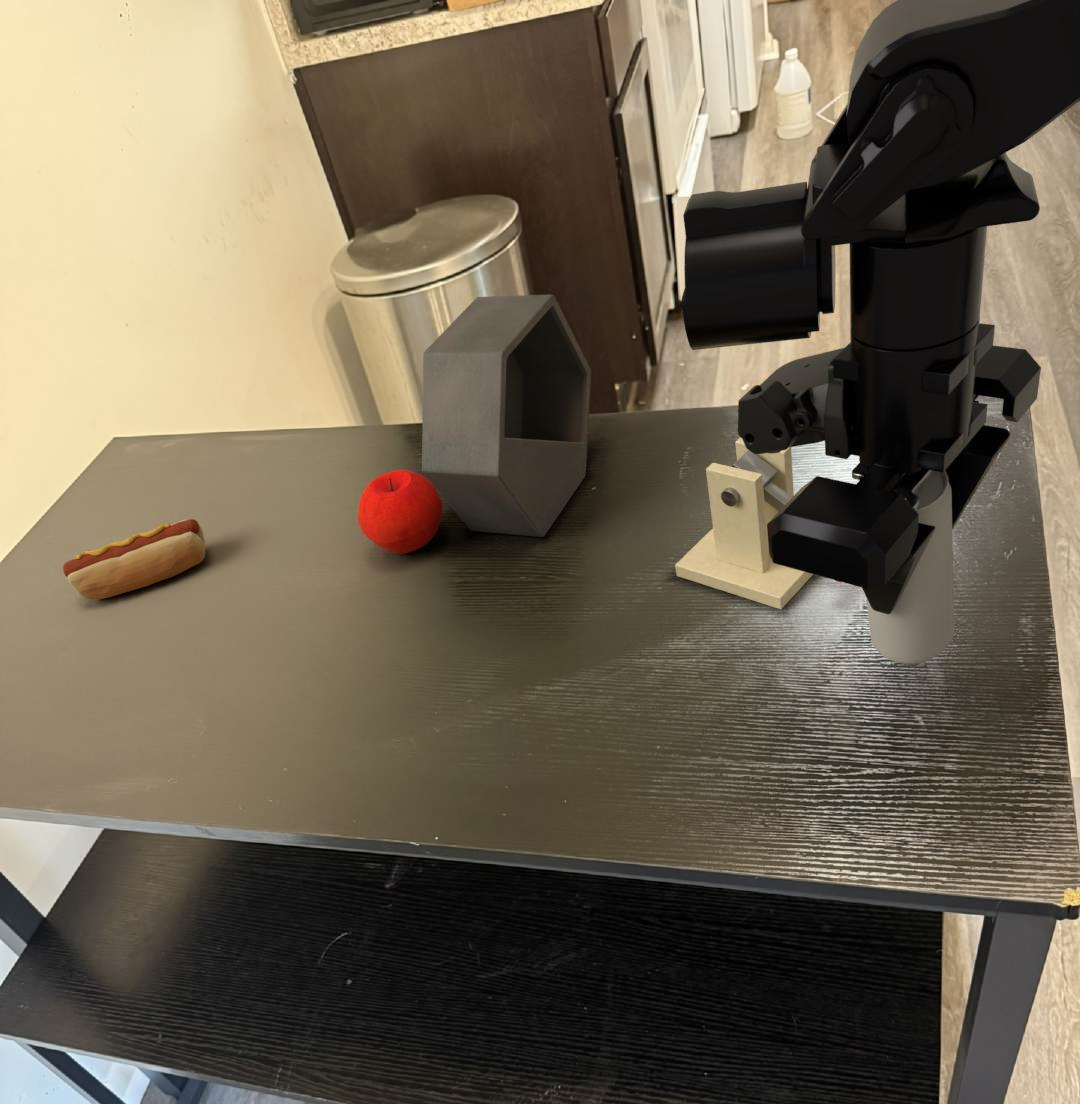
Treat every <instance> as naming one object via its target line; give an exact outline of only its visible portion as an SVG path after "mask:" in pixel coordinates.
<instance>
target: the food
mask: <svg viewBox="0 0 1080 1104" xmlns="http://www.w3.org/2000/svg"><path fill="white" fill-rule="evenodd" d="M206 550H207V549H206V540H205V536H204V531H203V529H202V526H201V525H200V523H198V520H196V519H195V518H185V519H181V520H179V521H177V522H174V523H172V524H170V523H168V522H167V523H162V524H160V525H159V526H157V527H156V528H154V529H151V530H149V531H143V532H139V533H136V534H133V535H130V536H129V537H128V538H125V539H123V540H119V541H112V542H110V543H108V544H106V545H104V546H102V547H100V548H97V549H93V550H85V551H83V552H80V553H78V554H76V556H75V557H73V558H72V559H70V560H68V561H66V562H65V563H63V566H62V572H63V574H64V576H65V577H66V578H67V581H68V583H69V584H70V585H71V586H72V587H73V589H74V591H76V593H77V594H78V595H80V596H82V597H83V598H84V599H89V600H97V601H99V600H103V599H107V598H111V597H115V596H118V595H121V594H125V593H129V592H131V591H135V590H138V589H142V588H146V587H149V586H151V585H153V584H156V583H159V582H160V581H164V580H167V579H170V578H173V577H175V576H178V575H181V574H182V573H183V572H185V571H187V570H189V569H191V568H193V567H194V566H197V565H199V564H200V563H202V562H203V561H204V559H205V557H206Z"/></svg>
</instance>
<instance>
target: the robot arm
mask: <svg viewBox="0 0 1080 1104" xmlns="http://www.w3.org/2000/svg"><path fill="white" fill-rule="evenodd" d="M1078 103H1080V0H896V1H894V2H892V3H891V4H889V5H887V6H886V7H884V9H883V10H882V11H880V12H879V14H878V15H877V16H876V17H875V18H874V19H873V20H872V22H871V23H870V25H869V27H868V28H867V29H866V31H865V33H864V35H863V37H862V40H861V41H860V42H859V45H858V47H857V49H856V51H855V53H854V57H853V62H852V66H851V70H850V75H849V83H848V96H847V103H846V105H845V107H844V108H843V110H842V112H841V113H840V114H839V116H838V118H837V119H836V121H835V123H834V124H833V126H832V128H831V129H830V131H829V133H828V134H827V136H826V137H825V139H824V140H823V142H822V144H821V145H820V146H819V145H818V147H817V149H816V153H815V155H814V156H813V158H812V160H811V163H810V168H809V169H810V170H809V175H808V181H802V182H795V183H789V184H782V185H775V186H769V187H764V188H763V187H762V188H755V189H750V190H743V191H734V192H733V191H732V192H731V191H723V190H712V191H706V192H700V193H699V192H698V193H694V194H691V195H690V197H689V198H688V201H687V203H686V206H685V209H684V212H683V215H682V217H683V224H684V225H683V226H684V233H685V242H684V265H683V267H684V270H683V271H684V288H683V292H682V296H681V309H682V318H683V324H684V330H685V334H686V338H687V342H688V345H689V347H690V349H691V350H692V351H699V350H707V349H716V348H717V349H718V348H726V347H727V348H728V347H736V346H737V347H738V346H746V345H755V344H764V343H765V344H767V343H774V342H784V341H793V340H794V341H795V340H803V339H810V338H811V336H812V333H814V332H820V329H821V328H820V326H821V325H820V324H821V323H820V321H821V314H822V315H828V314H829V315H830V314H834V313H835V310H836V309H835V308H836V246H841V245H849V248H848V249H849V318H850V319H849V332H850V333H849V335H850V339H849V340H850V342H849V343H848V344H847V345H846V346H845V347H841V348H837V349H833V350H829V351H825V352H820V353H817V354H816V353H815V354H813V355H808V356H805V357H801V358H797V359H794V360H792V361H789V362H786V363H784V364H783V365H781V366H780V367H778V368H777V369H775V370H774V371H773V372H772V373H771V374H770V375H769V376H768V377H767V378H766V379H765V380H763V382H761V383H760V384H756V385H754V386H753V387H751V388H750V389H749V390H748V391H747V392H746V393H745V394H744V395H743V396H742V397H741V398H740V399H738V405H737V434H738V436H739V438H740V437H741V438H742V439H743V442H744V444H745V446H746V448H747V449H748V450H749V451H751V452H752V453H754V454H764V453H770V454H772V453H779V452H780V451H782V450H786V449H788V448H789V447H791V448H793V447H801V446H806V445H812V444H818V443H822V442H824V455H825V456H827V457H832V458H837V459H842V460H848V459H849V458H850V456H856V457H858V458H859V459H858V461H859V463H857V464H856V466H854V468H853V469H852V470H851V478H852V479H854V480H858V482H857V483H852V482H847V481H842V480H837V479H833V478H830V477H829V478H828V477H824V476H820V475H816V476H815V477H814V478H812V479H811V480H810V481H808V482H807V483H806V484H804V485H802V487H801V488H799V490H798V491H797V492H796V493H794V496H793V497H792V498H791V499H790V501H789V502H788V503H787V504H786V505H785V506H784V507H783V508H782V509H781V510H780V511H779V512H778V513H777V514H776V515H775V516H774V517H773V518H772V519H771V521H770V522H769V523H768V524H767V531H768V544H769V555H770V557H771V559H772V561H773V563H775V564H778V565H782V566H785V567H789V568H793V569H796V570H800V571H804V572H807V573H811V574H813V575H815V576H819V577H823V578H826V579H829V580H833V581H835V580H836V581H835V582H837V581H840V582H841V583H844V584H848V585H851V586H855V587H859V588H861V589H862V591H863V593H864V596H865V597H867V598H866V600H867V599H868V602H869V604H870V606H871V608H872V609H873V610H875V611H878V612H881V613H885V614H891V612H892V611H893V610H894V608H895V606H896V604H897V602H898V601H899V599H900V597H901V595H902V593H903V591H904V589H905V587H906V585H907V583H908V581H909V580H910V578H911V576H912V574H913V572H914V570H915V568H916V566H917V564H918V562H919V560H920V558H921V556H922V554H923V552H924V551H925V549H926V547H927V545H928V543H929V541H930V539H931V537H932V535H933V533H934V531H935V526H931V525H927V524H922V523H918V518H919V514H918V513H917V511H916V509H917V508H918V506H919V498H918V496H917V495H915V494H914V493H915V492H916V491H917V489H918V488H919V487H920V486H921V485H922V483H923V482H924V481H925V480H926V479H927V478H928V476H929V475H930V474H931V473H932V472H933V471H937V472H944V471H946V473H947V476H948V482H949V484H950V486H951V491H952V530H953V529H954V528H955V527H956V525H957V523H958V522H959V520H960V518H961V517H962V515H963V513H964V511H965V510H966V508H967V506H968V505H969V503H970V502H971V500H972V499H973V497H974V495H975V494H976V492H977V490H978V489H979V488H980V485H981V484H982V483H983V481H984V479H985V477H986V476H987V475H988V472H989V471H990V469H991V468H992V467H993V465H994V463H995V461H996V460H997V458H998V456H999V455H1000V453H1001V452H1002V450H1003V449H1004V447H1005V446H1006V444H1008V441H1009V440H1010V438H1011V431H1010V430H1008V429H1006V428H1003V427H999V426H992V425H986V423H987V416H988V415H987V414H988V406H989V405H988V403H984V402H980V401H979V400H977V399H978V398H979V397H987V398H995V399H1002V408H1001V409H1002V410H1001V416H1002V417H1003V419H1005V420H1006V422H1007V421H1008V422H1011V423H1012V422H1013V423H1019V421H1020V420H1021V419H1022V417H1024V416H1025V414H1026V413H1027V412H1028V410H1029V409H1030V408H1031V407H1032V405H1033V404H1034V403H1035V401H1037V399H1038V394H1039V387H1040V386H1039V385H1040V378H1041V370H1042V367H1041V365H1040V364H1039V363H1038V362H1037V360H1036V359H1034V357H1033V356H1032V355H1031V354H1030V353H1029V351H1028V350H1027V349H1025V348H1018V347H1008V346H1000V345H994V338H995V329H996V325H995V324H991V323H990V324H989V323H980V322H981V307H982V295H983V293H982V292H983V281H984V269H985V257H986V244H987V232H988V227H993V226H1001V225H1007V224H1015V223H1023V222H1030V221H1032V220H1034V219H1035V218H1036V217H1037V216H1038V215H1039V213H1040V210H1041V206H1040V202H1039V198H1038V194H1037V193H1038V192H1037V189H1036V186H1035V181H1034V177H1033V175H1032V174H1031V173H1030V172H1028V171H1026V170H1025V169H1023V168H1021V167H1020V166H1019V165H1018V164H1016V163H1015V162H1013V160H1011V158H1010V157H1009V156H1008V153H1007V152H1009V151H1011V150H1013V149H1015V148H1017V147H1019V146H1020V145H1022V144H1024V143H1026V142H1027V141H1028V140H1030V139H1031V138H1033V137H1034V136H1036V135H1037V134H1038V133H1039V132H1040V131H1042V130H1043V129H1045V128H1046V127H1047V126H1048V125H1049V124H1051V123H1053V122H1054V121H1055V120H1056V119H1058V118H1059V117H1060V116H1062V115H1063V114H1065V112H1067V111H1068V110H1070V108H1073V106H1075V105H1077V104H1078ZM840 582H839V583H840Z"/></svg>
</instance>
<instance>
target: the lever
mask: <svg viewBox="0 0 1080 1104" xmlns="http://www.w3.org/2000/svg"><path fill="white" fill-rule="evenodd" d="M731 467H734V468H738V469H743V470H747V471H751V472H755V473H760V474H762V476H763V489H764V501H765V502H767V503H768V504H769V505H771V506H772V507H773V508H775V509H776V510H777V511H780V510H781V509H782V508H783V507H784V506H785V505H786V504H787V503H788V502H789V501H790V499H791V498H792V497H791V496H790V495H789V494H787V493H786V492H785V491H783V490H782V489H781V488H779V487H778V486H777V485H775V484H774V483H773V482H772V480H773V478H774V477H775V475H776V473H777V470H776V469H774V468H773V467H772V466H770V465H769V464H768V463H766V462H765V461H764V460H762V459H761V458H760V457H758V456H757V455H756V454H754V453H752V452H751V451H749V450H748V451H747V452H746V453H745V454H744V455H743V456H742V457H741V458H740V459H738V460H737V459H736V461H735V462H734V463H733V464H732V466H731ZM834 581H835V582H837V583H842V582H840V581H836V580H834Z"/></svg>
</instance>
